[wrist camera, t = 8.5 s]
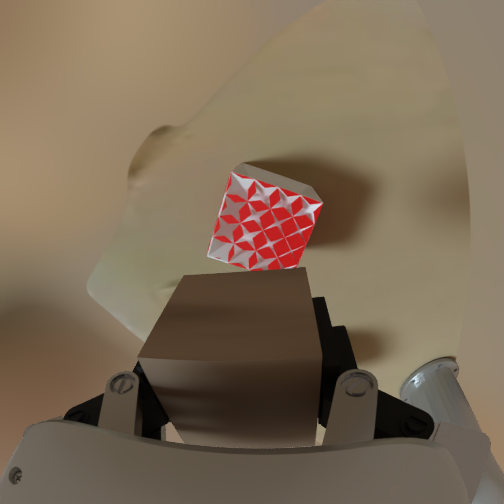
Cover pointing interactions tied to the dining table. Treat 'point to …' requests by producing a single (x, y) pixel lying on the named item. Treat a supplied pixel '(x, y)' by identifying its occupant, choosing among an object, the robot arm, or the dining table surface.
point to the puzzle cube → (263, 220)
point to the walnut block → (238, 359)
